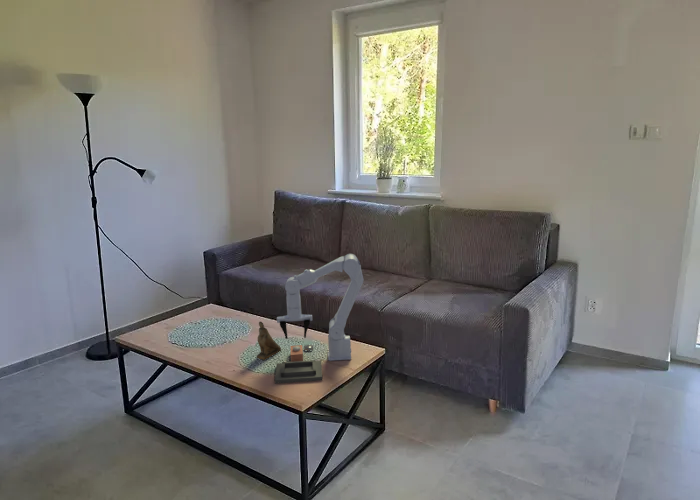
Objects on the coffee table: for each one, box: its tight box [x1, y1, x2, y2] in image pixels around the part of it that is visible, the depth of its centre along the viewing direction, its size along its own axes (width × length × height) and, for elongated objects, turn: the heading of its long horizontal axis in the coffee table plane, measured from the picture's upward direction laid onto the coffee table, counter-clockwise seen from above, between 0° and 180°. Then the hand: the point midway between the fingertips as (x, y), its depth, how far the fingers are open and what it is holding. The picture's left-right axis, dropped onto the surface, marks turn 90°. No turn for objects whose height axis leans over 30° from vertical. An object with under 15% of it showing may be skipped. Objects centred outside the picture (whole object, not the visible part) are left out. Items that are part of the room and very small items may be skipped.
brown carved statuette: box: [256, 321, 282, 361], centre depth 211 cm, size 12×6×18 cm, turn 144°
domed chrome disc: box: [303, 344, 314, 352], centre depth 217 cm, size 4×4×2 cm
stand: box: [274, 359, 323, 384], centre depth 196 cm, size 18×14×3 cm
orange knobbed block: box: [290, 344, 304, 362], centre depth 209 cm, size 5×9×5 cm, turn 7°
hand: (295, 337), depth 207 cm, fingers open, 7 cm apart
